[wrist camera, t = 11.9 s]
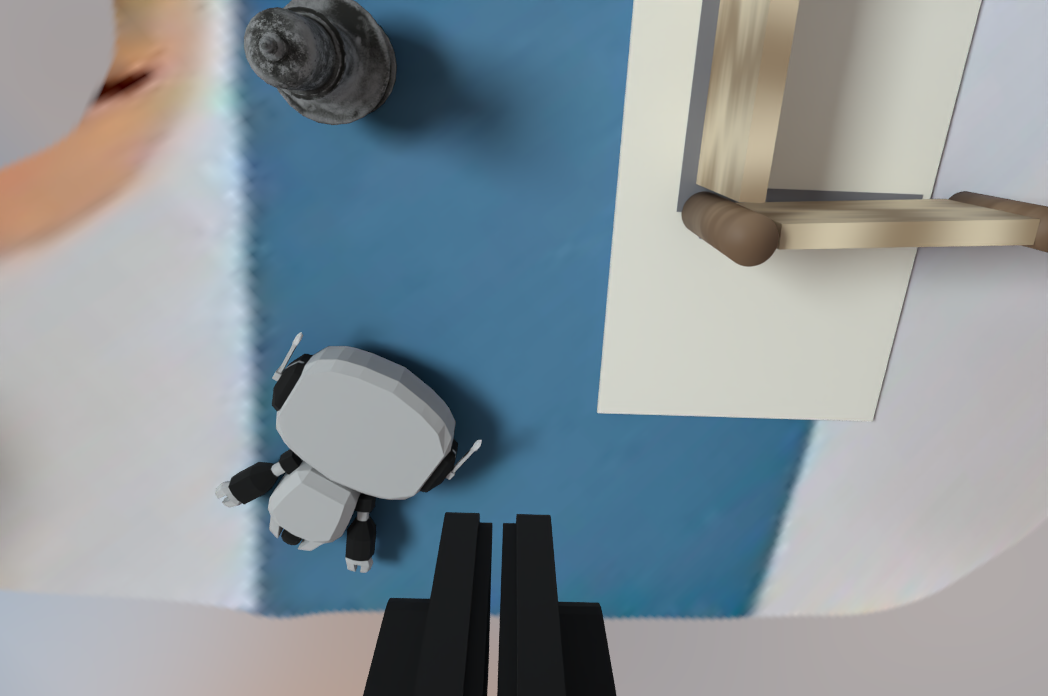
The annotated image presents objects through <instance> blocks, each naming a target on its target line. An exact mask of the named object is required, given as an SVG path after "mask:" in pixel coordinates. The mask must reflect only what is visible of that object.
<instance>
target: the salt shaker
mask: <svg viewBox="0 0 1048 696" xmlns="http://www.w3.org/2000/svg"><path fill="white" fill-rule="evenodd" d="M244 49H245V53H246V58H247V60H248V62H249V64H250V66H251V68H252V69H253V70H254V72H255V73H256V74H257V75H258V76H259V77H260V78H261V79H262V80H264V81H265V82H266V83H267V84H270V85H272V86H274V87H276V88H277V89H278V91H279V93H280V94H281V95H282V96H283V98H284V99H285V100H286V101H287V102H288V104H289V105H290V106H291V107H293V108H294V109H295V110H296V111H298V112H299V113H300V114H302V115H303V116H305V117H307V118H309V119H311V120H314V121H316V122H318V123H324V124H331V125H338V124H347V123H351V122H353V121H356V120H358V119H361V118H363V117H364V116H366V115H367V114H369V113H371V112H374V111H375V110H376V109H378V108H379V107H380V106H381V105H382V104H384V102H385V101H386V100H387V98H388V97H389V95H390V94H391V92H392V89H393V86H394V83H395V80H396V69H397V65H396V59H395V53H394V50H393V47H392V45H391V43H390V40H389V38H388V37H387V35H386V34H385V33H384V31H383V30H382V28H381V27H380V26H379V25H378V24H377V23H376V21H375V20H374V18H373V17H372V16H371V14H370V13H369V12H367V11H366V10H365V9H364V8H363V7H362V6H360V5H359V4H358V3H357V2H355V1H353V0H292V1H291V2H290V3H289V4H287V5H286V6H285V7H284V8H278V7H277V8H269V9H266V10H264V11H262V12H259V13H258V14H257V15H255V16H254V17H253V18H252V19H251V21H250V23H249V24H248V26H247V28H246V32H245V36H244Z"/></svg>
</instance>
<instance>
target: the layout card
mask: <svg viewBox="0 0 1048 696" xmlns="http://www.w3.org/2000/svg"><path fill="white" fill-rule="evenodd" d="M981 1H982V0H799V6H798V12H797V18H796V24H795V30H794V36H793V42H792V47H791V53H790V59H789V65H788V71H787V77H786V83H785V89H784V94H783V100H782V106H781V112H780V118H779V124H778V130H777V135H776V141H775V147H774V153H773V159H772V165H771V171H770V177H769V182H768V188H767V194H766V200H765V202H801V201H857V200H913V199H930V197H931V194H932V190H933V186H934V182H935V178H936V174H937V170H938V167H939V163H940V159H941V155H942V151H943V147H944V143H945V140H946V136H947V132H948V128H949V124H950V120H951V116H952V113H953V109H954V105H955V101H956V97H957V93H958V89H959V86H960V82H961V78H962V74H963V70H964V66H965V62H966V59H967V55H968V51H969V47H970V43H971V39H972V35H973V32H974V28H975V24H976V20H977V16H978V12H979V8H980V5H981ZM719 5H720V0H634V1H633V13H632V24H631V35H630V46H629V57H628V69H627V80H626V91H625V102H624V114H623V125H622V136H621V147H620V158H619V170H618V181H617V192H616V203H615V215H614V226H613V237H612V248H611V259H610V271H609V282H608V293H607V304H606V315H605V327H604V338H603V349H602V360H601V372H600V383H599V394H598V405H597V413H613V414H646V415H679V416H711V417H744V418H777V419H809V420H842V421H873V417H874V413H875V409H876V406H877V402H878V398H879V394H880V390H881V386H882V382H883V379H884V375H885V371H886V367H887V363H888V359H889V355H890V352H891V348H892V344H893V340H894V336H895V332H896V328H897V325H898V321H899V317H900V313H901V309H902V305H903V301H904V298H905V294H906V290H907V286H908V282H909V278H910V274H911V271H912V267H913V263H914V259H915V255H916V251H917V247H894V248H839V249H785V250H779V249H777V248H776V250H775V252H774V253H773V255H772V256H771V257H770V258H769V259H768V260H767V261H765V262H764V263H762V264H760V265H757V266H752V267H746V266H741V265H739V264H737V263H735V262H734V261H732V260H731V259H729V258H728V257H727V256H725V255H724V254H722V253H721V252H720V251H718V250H717V249H715V248H714V247H713V246H711V245H710V244H708V243H707V242H705V241H704V240H703V239H701V238H700V237H698V236H697V235H696V234H694V233H693V232H691V231H690V230H689V229H687V228H686V226H685V225H684V223H683V221H682V216H681V213H682V209H683V206H684V204H685V202H686V201H687V200H688V199H689V198H690V197H691V196H692V195H694V194H696V193H698V192H703V191H706V192H711V193H714V194H716V195H718V196H720V197H723V198H725V199H727V200H730V201H732V202H734V203H745V202H738V201H735V200H733V199H731V198H728V197H726V196H724V195H721V194H719V193H716V192H714V191H712V190H709V189H707V188H705V187H702V186H700V185H698V184H696V180H697V173H698V165H699V158H700V150H701V142H702V135H703V127H704V120H705V112H706V104H707V97H708V89H709V82H710V74H711V66H712V59H713V51H714V44H715V36H716V28H717V21H718V13H719Z"/></svg>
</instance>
